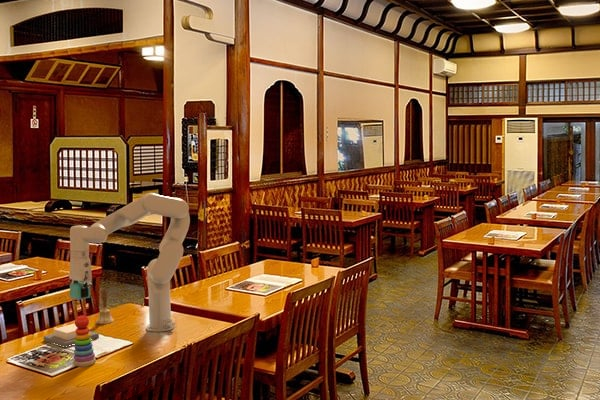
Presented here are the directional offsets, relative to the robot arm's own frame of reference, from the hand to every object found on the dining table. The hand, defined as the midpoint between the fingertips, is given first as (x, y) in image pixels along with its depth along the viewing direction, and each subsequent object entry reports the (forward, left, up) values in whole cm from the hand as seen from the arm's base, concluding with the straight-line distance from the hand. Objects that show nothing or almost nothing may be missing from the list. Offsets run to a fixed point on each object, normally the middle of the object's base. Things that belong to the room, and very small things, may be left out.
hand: (80, 295), depth 263 cm
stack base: (+1, +4, -18) cm, 19 cm away
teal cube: (0, 0, -1) cm, 1 cm away
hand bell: (+12, -21, -19) cm, 30 cm away
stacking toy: (-30, +18, -19) cm, 40 cm away
